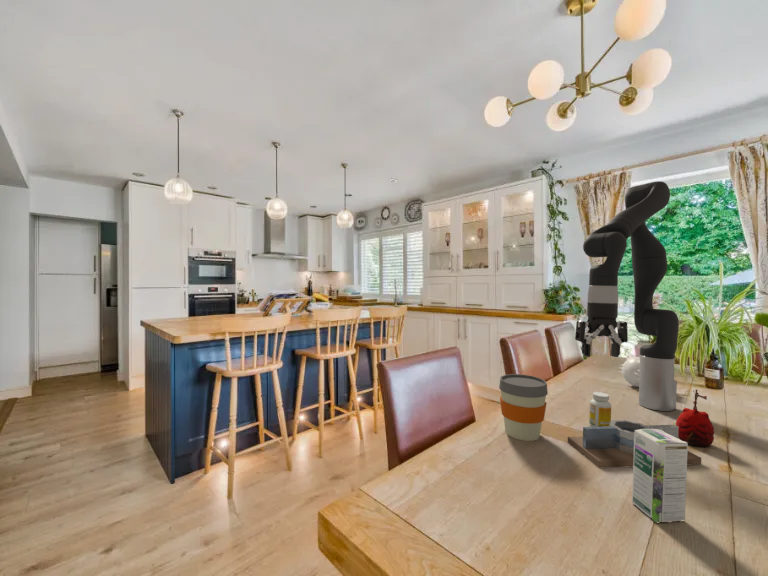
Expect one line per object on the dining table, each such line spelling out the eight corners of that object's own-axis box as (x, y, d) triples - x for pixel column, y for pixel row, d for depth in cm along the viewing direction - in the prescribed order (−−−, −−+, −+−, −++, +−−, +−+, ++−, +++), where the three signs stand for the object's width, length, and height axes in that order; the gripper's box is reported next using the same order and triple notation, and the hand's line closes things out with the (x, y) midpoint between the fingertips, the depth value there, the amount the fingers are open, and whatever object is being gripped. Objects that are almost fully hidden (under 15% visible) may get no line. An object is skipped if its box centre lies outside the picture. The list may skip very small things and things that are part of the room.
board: (656, 439, 92) (657, 434, 92) (701, 464, 80) (701, 457, 80) (567, 442, 90) (567, 436, 90) (599, 467, 78) (599, 461, 78)
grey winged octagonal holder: (660, 437, 90) (661, 418, 90) (692, 454, 81) (692, 433, 81) (573, 439, 88) (573, 420, 88) (596, 457, 80) (596, 436, 80)
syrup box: (630, 502, 66) (632, 428, 65) (658, 501, 66) (660, 427, 66) (656, 524, 60) (658, 443, 60) (687, 522, 60) (689, 441, 60)
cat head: (673, 393, 129) (673, 361, 129) (638, 393, 129) (639, 361, 129) (643, 381, 144) (644, 353, 144) (612, 381, 144) (612, 352, 144)
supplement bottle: (586, 425, 100) (586, 393, 100) (593, 421, 104) (593, 389, 103) (607, 432, 96) (607, 398, 96) (613, 427, 100) (614, 394, 99)
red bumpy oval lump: (713, 443, 90) (714, 387, 90) (714, 452, 85) (715, 393, 85) (675, 434, 95) (676, 381, 95) (674, 442, 90) (675, 386, 90)
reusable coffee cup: (546, 428, 98) (547, 377, 98) (547, 447, 87) (548, 389, 87) (501, 420, 104) (501, 371, 103) (496, 438, 92) (496, 383, 92)
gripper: (616, 301, 103) (614, 354, 104) (571, 300, 103) (569, 353, 103) (636, 302, 96) (634, 359, 96) (587, 301, 95) (585, 359, 96)
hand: (600, 356), depth 100 cm, fingers open, 8 cm apart
